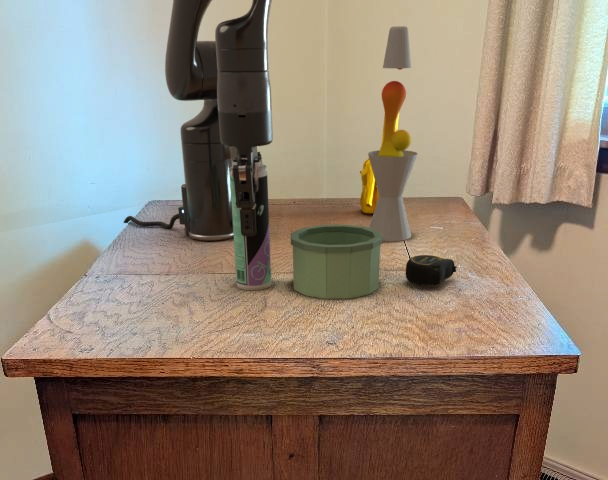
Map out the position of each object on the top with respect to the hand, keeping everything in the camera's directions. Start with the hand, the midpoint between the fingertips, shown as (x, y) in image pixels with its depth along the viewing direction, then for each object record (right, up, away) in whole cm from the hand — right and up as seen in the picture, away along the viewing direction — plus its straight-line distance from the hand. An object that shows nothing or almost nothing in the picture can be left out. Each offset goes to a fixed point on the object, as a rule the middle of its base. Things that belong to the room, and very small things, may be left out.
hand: (251, 230), depth 109 cm
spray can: (0, -7, +5) cm, 9 cm away
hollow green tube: (+13, -8, +4) cm, 15 cm away
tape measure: (+28, -7, +4) cm, 29 cm away
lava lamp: (+25, +8, +31) cm, 40 cm away
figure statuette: (+24, +19, +49) cm, 58 cm away
